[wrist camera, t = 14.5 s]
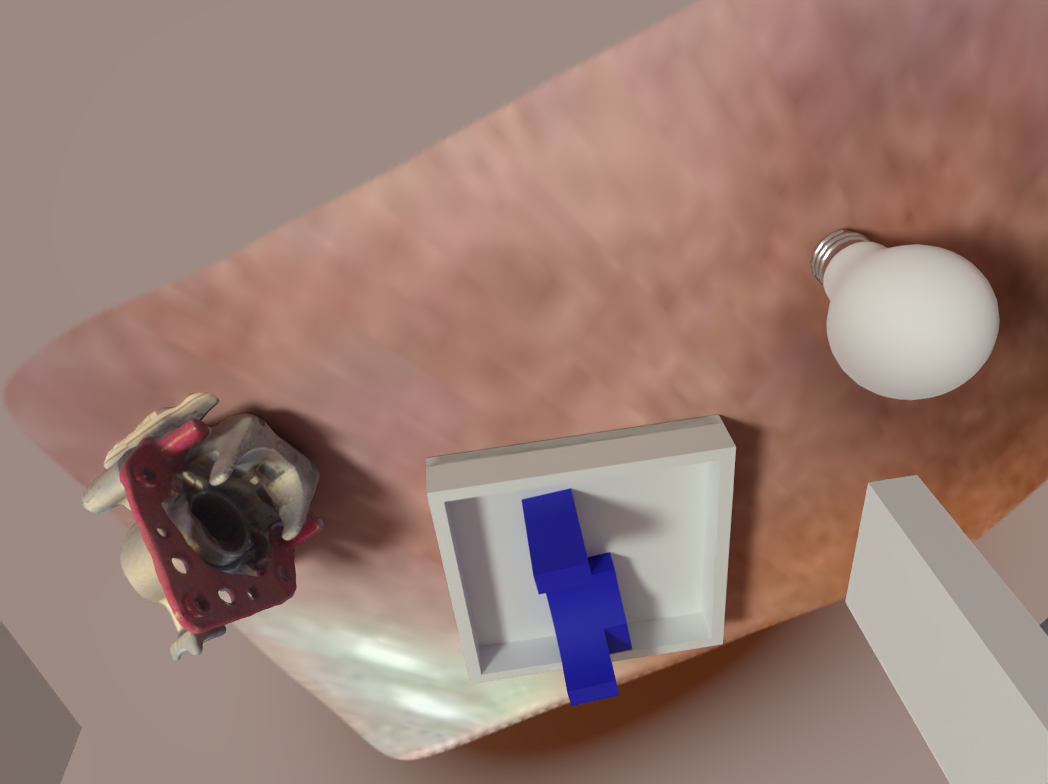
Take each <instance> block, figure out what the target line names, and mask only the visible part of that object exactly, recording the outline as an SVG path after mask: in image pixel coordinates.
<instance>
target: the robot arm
mask: <svg viewBox="0 0 1048 784" xmlns="http://www.w3.org/2000/svg"><path fill="white" fill-rule="evenodd" d="M846 604H847V606H848V608H849V609H850V611H851V613H852V614H853V616H854V618H855V620H856V621H857V623H858V625H859V627H860V628H861V630H862V632H863V634H864V635H865V637H866V639H867V641H868V642H869V644H870V646H871V647H872V649H873V651H874V653H875V654H876V656H877V657H878V660H879V661H880V663H881V664H882V667H883V668H884V670H885V672H886V673H887V675H888V677H889V679H890V680H891V682H892V684H893V686H894V687H895V689H896V691H897V693H898V694H899V696H900V698H901V699H902V701H903V703H904V705H905V707H906V708H907V710H908V712H909V713H910V715H911V717H912V719H913V720H914V722H915V724H916V726H917V727H918V729H919V731H920V733H921V734H922V736H923V738H924V739H925V741H926V743H927V745H928V746H929V748H930V750H931V752H932V753H933V755H934V757H935V758H936V760H937V762H938V764H939V766H940V767H941V769H942V771H943V772H944V774H945V776H946V778H947V780H948V781H949V783H950V784H1048V618H1047V619H1046V620H1045V621H1044V622H1043V623H1042V624H1040V625H1038V623H1037V622H1036V621H1035V620H1034V618H1033V617H1032V616H1031V615H1030V614H1029V612H1028V611H1027V610H1026V609H1025V607H1024V606H1023V605H1022V604H1021V602H1020V601H1019V600H1018V599H1017V598H1016V596H1015V595H1014V594H1013V593H1012V591H1011V590H1010V589H1009V588H1008V586H1007V585H1006V584H1005V583H1004V581H1003V580H1002V579H1001V578H1000V577H999V575H998V574H997V573H996V572H995V570H994V569H993V568H992V567H991V566H990V564H989V563H988V562H987V561H986V559H985V558H984V557H983V556H982V554H981V553H980V552H979V551H978V550H977V548H976V547H975V546H974V544H973V543H972V542H971V541H970V540H969V538H968V537H967V536H966V535H965V533H964V532H963V531H962V530H961V528H960V527H959V526H958V525H957V524H956V522H955V521H954V520H953V519H952V517H951V516H950V515H949V514H948V512H947V511H946V510H945V509H944V508H943V506H942V505H941V504H940V503H939V501H938V500H937V499H936V498H935V496H934V495H933V494H932V493H931V491H930V490H929V489H928V488H927V487H926V485H925V484H924V483H923V482H922V480H921V479H920V478H919V477H918V475H913V476H907V477H901V478H895V479H888V480H882V481H876V482H870V483H868V487H867V492H866V497H865V502H864V508H863V513H862V518H861V523H860V528H859V534H858V539H857V544H856V549H855V555H854V560H853V565H852V570H851V576H850V581H849V586H848V591H847V597H846ZM81 728H82V727H81V726H80V725H79V724H78V722H77V721H76V720H75V718H74V717H73V716H72V714H71V713H70V711H69V710H68V709H67V708H66V706H65V705H64V704H63V702H62V701H61V700H60V698H59V697H58V696H57V695H56V693H55V692H54V690H53V689H52V688H51V687H50V685H49V684H48V683H47V681H46V680H45V678H44V677H43V676H42V674H41V673H40V672H39V671H38V669H37V668H36V667H35V665H34V664H33V663H32V661H31V660H30V659H29V657H28V656H27V655H26V653H25V652H24V651H23V649H22V648H21V647H20V645H19V644H18V643H17V642H16V640H15V639H14V637H13V636H12V635H11V634H10V632H9V631H8V630H7V628H6V627H5V626H4V624H3V623H2V622H1V621H0V784H60V783H61V780H62V778H63V775H64V772H65V770H66V767H67V765H68V762H69V760H70V757H71V754H72V752H73V749H74V747H75V744H76V741H77V738H78V736H79V734H80V731H81Z"/></svg>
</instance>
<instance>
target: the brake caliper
mask: <svg viewBox="0 0 1048 784" xmlns="http://www.w3.org/2000/svg"><path fill="white" fill-rule="evenodd" d="M218 402H219V399H218V398H217V397H215V396H214V395H213V394H211V393H198V392H196V393H191V394H188V395H187V397H186V398H185V400H184V402H183V403H181V404H180V405H179V406H177V407H172V408H160V409H158V410H156V411H154V412H153V413H152V414H150V415H149V416H147V417H146V418H145V419H144V420H143V421H142V422H141V423H140V424H139V425H138V426H137V428H136V430H135V431H133V432H132V433H131V434H130V435H128V436H127V438H125V439H123V440H121V441H120V442H118V443H117V444H116V445H115V446H114V447H113V448H112V449H111V450H110V451H109V452H108V454H107V456H106V460H105V462H104V467H105V468H106V469H107V470H106V471H105V472H104V473H103V474H102V475H101V476H99V477H98V478H97V479H95V480H94V481H93V482H92V483H91V485H90V486H89V487H88V488H87V489H86V491H85V492H84V493H83V495H82V497H81V501H82V504H83V506H84V507H85V508H86V509H87V510H89V511H90V512H93V513H100V512H103V511H105V510H108V509H111V508H113V507H115V506H117V505H125V506H126V507H127V508H128V509H130V510H131V511H132V513H133V516H134V520H135V523H134V525H133V526H132V527H131V528H130V529H129V530H128V531H127V533H126V535H125V536H124V539H123V541H122V544H121V551H120V561H121V567H122V570H123V573H124V575H125V577H126V578H127V580H128V581H129V583H130V584H131V585H132V587H133V588H134V589H135V590H136V591H137V592H138V593H139V595H141V596H142V597H144V598H145V599H147V600H148V601H150V602H153V603H156V604H159V605H162V606H164V607H165V608H166V609H167V610H168V611H169V613H170V615H171V617H172V620H173V623H174V625H175V628H176V630H177V633H178V638H177V639H176V640H175V641H174V642H173V643H172V645H171V647H170V651H171V656H172V658H173V660H175V661H178V660H179V659H180V657H181V655H182V653H183V652H185V651H188V652H191V653H192V654H194V655H200V654H201V653H202V649H203V646H202V645H203V643H204V642H206V641H208V640H210V639H213V638H215V637H219V636H221V635H223V634H225V633H226V627H225V625H226V624H228V623H231V622H234V621H236V620H239V619H241V618H245V617H249V616H251V615H253V614H255V613H257V612H260V611H262V610H265V609H268V608H271V607H273V606H276V605H280V604H283V603H284V602H285V601H286V600H288V599H290V598H291V597H293V595H294V592H295V590H296V571H295V565H294V550H295V548H296V547H297V546H299V545H300V544H301V543H303V542H305V541H306V540H308V539H310V538H312V537H313V536H315V535H316V534H318V533H319V532H321V531H322V530H323V529H324V528H325V523H324V521H323V520H322V519H321V518H319V517H317V516H316V515H315V514H313V513H312V512H310V511H309V506H310V503H311V501H312V499H313V497H314V494H315V491H316V487H317V484H318V481H319V478H320V474H319V472H318V469H317V468H316V466H315V465H314V464H313V463H312V462H311V461H310V460H309V459H308V458H307V457H306V456H304V455H303V454H302V453H300V452H299V451H298V450H296V449H295V448H294V447H293V446H291V445H290V444H289V443H287V442H286V441H285V440H284V439H282V438H281V437H279V436H277V435H276V434H275V433H274V432H273V431H272V429H271V428H270V427H269V425H268V424H267V423H266V422H265V421H264V420H263V419H261V418H260V417H258V416H256V415H253V414H249V413H240V414H235V415H232V416H230V417H228V418H226V419H224V420H223V421H222V422H220V423H219V424H217V425H215V426H213V427H208V426H207V425H206V424H205V423H203V422H202V421H200V420H202V418H203V417H204V416H205V415H206V413H207V412H208V411H209V410H210V409H211V408H212V407H214V406H215V405H216V404H217V403H218ZM218 591H226V592H227V593H228V594H229V595H230V597H231V601H232V603H227V602H225V601H223V600H222V599H221V598H220V596H219V594H218ZM248 593H250V594H251V595H252V597H251V596H250V595H249V594H248Z"/></svg>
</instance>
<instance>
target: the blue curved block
mask: <svg viewBox="0 0 1048 784" xmlns="http://www.w3.org/2000/svg"><path fill="white" fill-rule="evenodd" d="M521 501H522V507H523V513H524V520H525V526H526V532H527V539H528V545H529V552H530V558H531V564H532V571H533V577H534V580H535V583H536V587H537V590H538V594H544V593H546V596H547V600H548V604H549V608H550V612H551V616H552V620H553V624H554V629H555V633H556V638H557V642H558V647H559V652H560V656H561V661H562V666H563V671H564V676H565V682H566V687H567V692H568V696H569V699H570V703H571V706H574V705H578V704H582V703H587V702H592V701H596V700H600V699H605V698H609V697H613V696H618V695H619V692H618V688H617V683H616V679H615V675H614V671H613V666H612V662H611V658H610V654H614V653H618V652H623V651H627V650H632V645H631V640H630V635H629V630H628V625H627V621H626V617H625V613H624V608H623V604H622V600H621V595H620V591H619V586H618V582H617V577H616V572H615V568H614V564H613V561H612V557H611V553H610V552H608V553H604V554H599V555H595V556H590V557H587V553H586V549H585V545H584V541H583V536H582V532H581V528H580V524H579V520H578V515H577V511H576V507H575V503H574V499H573V494H572V490H571V488H569V489H565V490H561V491H556V492H552V493H548V494H543V495H539V496H535V497H530V498H526V499H522V500H521Z"/></svg>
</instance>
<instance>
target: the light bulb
mask: <svg viewBox="0 0 1048 784" xmlns="http://www.w3.org/2000/svg"><path fill="white" fill-rule="evenodd" d="M810 263H811V269H812V273H813V275H814V276H815V277H816V279H817V280H818V281H819V282H820V283H821V284H822V285H823V286H824V289H825V292H826V295H827V296H828V298H829V300H830V305H829V310H828V316H827V336H828V340H829V344H830V348H831V351H832V353H833V355H834V357H835V358H836V360H837V362H838V363H839V365H840V367H841V368H842V370H843V371H844V372H845V373H846V374H847V375H848V376H849V377H850V378H852V379H853V380H854V381H855V382H856V383H857V384H858V385H860V386H862V387H864V388H866V389H867V390H869V391H871V392H874V393H876V394H878V395H881V396H885V397H888V398H894V399H901V400H917V399H925V398H931V397H935V396H939V395H942V394H945V393H947V392H949V391H952V390H954V389H955V388H957V387H959V386H961V385H962V384H964V383H965V382H966V381H968V380H969V379H970V378H972V377H973V376H974V375H975V374H976V373H977V372H978V371H979V370H980V369H981V367H982V366H983V365H984V364H985V362H986V361H987V360H988V358H989V356H990V354H991V352H992V350H993V348H994V345H995V342H996V339H997V335H998V331H999V324H1000V319H999V311H998V302H997V299H996V296H995V294H994V291H993V289H992V287H991V285H990V283H989V281H988V280H987V279H986V277H985V276H984V275H983V274H982V272H981V271H980V270H979V269H978V268H977V267H976V266H975V265H974V264H973V263H971V262H970V261H968V260H967V259H965V258H964V257H962V256H960V255H958V254H956V253H954V252H952V251H950V250H947V249H944V248H941V247H936V246H930V245H921V244H914V245H903V246H896V247H891V248H886V247H885V246H883V245H881V244H878V243H875V242H871V241H870V240H869V239H867V238H866V236H864V235H862V234H860V233H857V232H852V231H849V230H845V229H839V230H837V231H834V232H832V233H829V234H828V235H827V236H826V237H825V238H823V239H822V240H821V241H820V242H819V243H818V245H817V246H816V248H815V249H814V251H813V254H812V258H811V262H810Z"/></svg>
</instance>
